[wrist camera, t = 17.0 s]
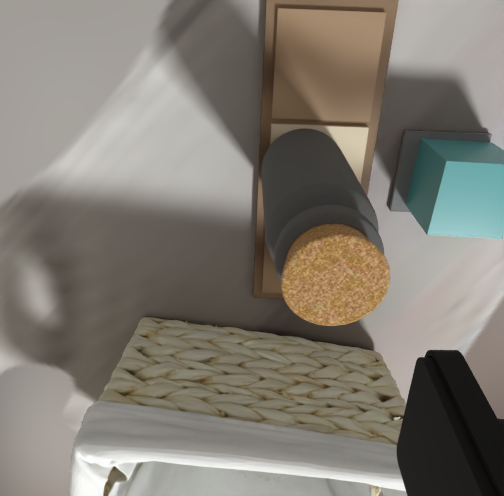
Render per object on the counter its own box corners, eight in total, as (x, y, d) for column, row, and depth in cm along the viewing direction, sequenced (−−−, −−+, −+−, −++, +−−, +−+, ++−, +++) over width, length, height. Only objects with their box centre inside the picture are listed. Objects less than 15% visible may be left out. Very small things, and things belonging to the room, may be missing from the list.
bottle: (244, 164, 34) (240, 277, 20) (310, 109, 32) (352, 194, 19) (295, 221, 36) (322, 357, 23) (360, 172, 34) (430, 289, 21)
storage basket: (115, 428, 48) (65, 593, 35) (123, 295, 40) (63, 441, 27) (348, 456, 50) (382, 622, 37) (397, 334, 42) (463, 488, 29)
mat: (404, 130, 33) (405, 131, 33) (489, 133, 34) (491, 134, 33) (389, 209, 36) (390, 211, 36) (467, 211, 36) (469, 213, 36)
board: (266, -6, 29) (267, -6, 29) (396, -1, 30) (399, 0, 29) (253, 293, 40) (253, 299, 39) (348, 296, 40) (350, 302, 39)
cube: (420, 138, 33) (446, 160, 29) (491, 142, 33) (527, 165, 29) (405, 204, 36) (427, 234, 31) (471, 208, 36) (502, 239, 31)
